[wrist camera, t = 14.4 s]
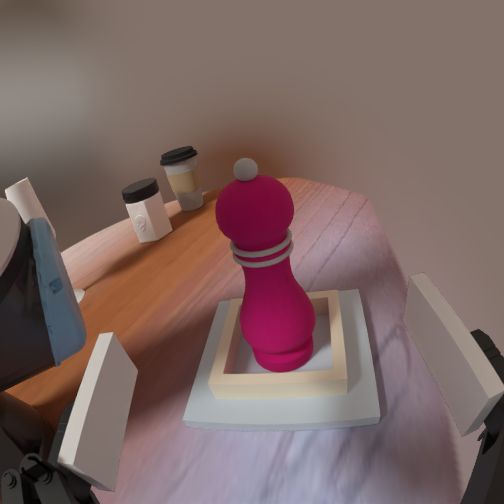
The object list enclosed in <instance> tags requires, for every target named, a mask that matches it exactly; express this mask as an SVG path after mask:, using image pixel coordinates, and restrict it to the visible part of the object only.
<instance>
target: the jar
mask: <svg viewBox="0 0 504 504" xmlns="http://www.w3.org/2000/svg"><path fill="white" fill-rule="evenodd" d="M122 196H123V199H124V201H125V203H126V207H127V210H128V213H129V215H130V218H131V221H132V223H133V226H134V228H135V231H136V234H137V236H138V239H139V241H140V243H144V242H151V241H158V240H159V239H161V238H162V237H164V236H165V235H167V234H168V233H170V232H171V231H172V227H171V224H170V221H169V218H168V215H167V212H166V209H165V206H164V203H163V200H162V197H161V194H160V191H159V187H158V184H157V181H156V179H155V178H149V179H145V180H141V181H138V182H136V183H134V184H131V185H129V186H128V187H126V188H124V189H123V190H122Z"/></svg>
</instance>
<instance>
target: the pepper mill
mask: <svg viewBox="0 0 504 504" xmlns="http://www.w3.org/2000/svg"><path fill="white" fill-rule="evenodd" d="M257 173H258V167H257V165H256V163H255V162H254V161H253V160H252V159H249V158H242V159H240V160H238V161H237V162H236V163H235V166H234V174H235V176H236V178H237V180H235V181H233V182H231V183H230V184H229V185H227V186H226V187H225V188H224V189H223V190H222V192H221V193H220V195H219V197H218V199H217V202H216V220H217V224H218V226H219V229H220V230H221V231H222V232H223V234H224V235H225V236H226V237H228V238H229V239H231V242H230V247H231V250H232V251H233V258H234V260H235V261H236V262H237V263H238V264H240V265H241V266H242V268H243V271H244V275H245V280H246V281H245V293H244V298H243V301H242V305H241V309H240V325H241V331H242V335H243V337H244V339H245V340H246V341H247V343H248V344H250V345H251V346H252V350H253V353H254V357H255V359H256V361H257V363H258V364H259V365H260V366H261V367H262V368H264V369H266V370H269V371H271V372H279V373H282V372H289V371H292V370H295V369H297V368H299V367H301V366H303V365H304V364H305V363H306V362H307V361H308V360H309V359H310V357H311V355H312V353H313V348H314V346H313V336H312V333H313V331H314V328H315V324H316V317H315V312H314V308H313V305H312V303H311V301H310V299H309V297H308V295H307V294H306V293H305V292H304V290H303V289H302V288H301V287H300V285H299V284H298V283H297V281H296V280H295V278H294V276H293V274H292V271H291V266H290V257H289V255H290V253H291V252H292V250H293V242H292V240H291V238H292V233H291V231H290V230H289V229H288V227H289V225H290V224H291V222H292V219H293V215H294V205H293V201H292V198H291V195H290V193H289V191H288V190H287V188H286V187H285V186H284V185H283V184H282V183H281V182H279V181H278V180H276V179H274V178H272V177H269V176H263V175H257Z"/></svg>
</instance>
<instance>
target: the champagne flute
mask: <svg viewBox="0 0 504 504" xmlns="http://www.w3.org/2000/svg"><path fill="white" fill-rule="evenodd" d="M5 193H6V196H7V200H9V201H11V202H12V203H13V204H14V205H15V207H16V208H17V210H18V212H19V214H20V216H21V217H22V219H23V221H24V223H25V224H26V223H27V222H28V221H29V220H30V219H32V218H35V219H36V218H39V217H44V218H45V219H46V220H47V222H48V223H49V225H50V227H51V229H52V232H53V234H54V237H55V238H56V234H55V230H54V229H53V227H52V225H51V223H50V221H49V219H48V218H47V216H46V214H45V212H44V210H43V208H42V206H41V204H40V202H39V201H38V198H37V196H36V194H35V192H34V190H33V188H32V186H31V184H30V182H29V180H28V178H26V179H23V180H21V181H20V182H18V183H16V184H14V185H12V186H11V187H9V188H7V189H6V190H5ZM73 291H74V294H75V296H76V299H77V302H78V303H79V302H80V301H81V300H82V298H83V297H84V294H85V292H84V290H82V289H73Z"/></svg>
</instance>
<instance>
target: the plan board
mask: <svg viewBox="0 0 504 504" xmlns="http://www.w3.org/2000/svg"><path fill="white" fill-rule="evenodd" d="M306 294H307V295H308V297H309V299H310V301H311V303H312V305H313V308H314V312H315V317H316V324H315V328H314V331H313V333H312V336H313V346H314V348H313V353H312V355H311V357H310V359H309V360H308V361H307V362H306V363H305V364H304V365H303V366H301V367H299V368H297V369H295V370H292V371H289V372H282V373H279V372H271V371H269V370H266V369H264V368H262V367H261V366H260V365H259V364H258V363H257V361H256V359H255V357H254V353H253V350H252V346H251V345H250V344H248V343H247V341H246V340H245V339H244V337H243V335H242V331H241V325H240V309H241V305H242V301H243V298H235V299H231V300H230V301H219V304H218V307H217V310H216V313H215V317H214V320H213V323H212V326H211V329H210V332H209V336H208V339H207V342H206V345H205V348H204V352H203V355H202V358H201V361H200V364H199V368H198V371H197V374H196V377H195V381H194V384H193V387H192V390H191V394H190V397H189V400H188V403H187V407H186V410H185V413H184V417H183V421H184V423H185V424H186V425H187V427H191V428H202V429H216V430H234V431H305V430H323V429H336V428H347V427H357V426H366V425H373V424H379V420H380V408H379V401H378V393H377V386H376V380H375V373H374V367H373V361H372V355H371V349H370V343H369V338H368V333H367V327H366V322H365V317H364V312H363V307H362V303H361V298H360V293H359V289H351V290H342V291H338V289H336V290H326V291H316V292H306Z"/></svg>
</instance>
